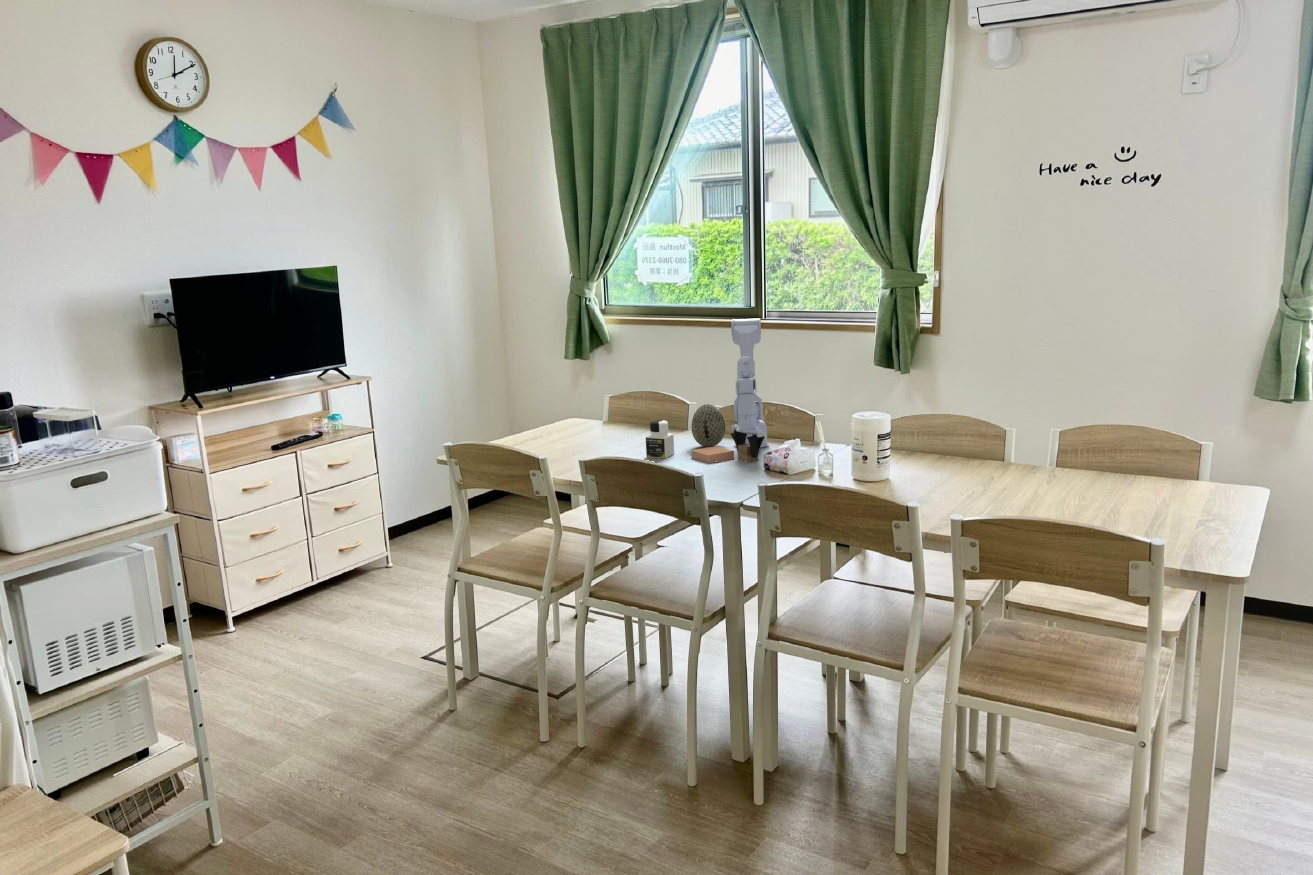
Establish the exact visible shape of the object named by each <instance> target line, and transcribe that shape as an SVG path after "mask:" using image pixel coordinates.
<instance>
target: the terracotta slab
mask: <svg viewBox="0 0 1313 875" xmlns="http://www.w3.org/2000/svg"><path fill="white" fill-rule="evenodd" d="M691 458H692V459H694V460H698V461H700V460H701V462H704V461H705V462H704V463H707V464H712V463H716V462H715V461H718V462H722V461H721V460H723V461H726V460H727V459H728V460H732V458H733V459H735V450H733V449H729V448H726V447H721V446H718V445H716V446H713V447H703V448H698V449H692V450H691Z"/></svg>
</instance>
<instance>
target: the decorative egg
mask: <svg viewBox="0 0 1313 875" xmlns="http://www.w3.org/2000/svg"><path fill="white" fill-rule="evenodd" d="M690 426H691V434H692V438H694V441H695V442H696V443H697V444H698V445H700V446H701V447H703V448H708V447H714V446H718V445H719V444H720V443H721V442H722V441H723V439H724V436H725V434H726V422H725V419H724V416H723V414H722V412H721V411H720V409H719V408H717V407H716V406H714V405H712V404H710V403H708V404H703V405H701V406H700V407H698V408H697V409H696V411H694V414H693V416H692V420H691V425H690Z"/></svg>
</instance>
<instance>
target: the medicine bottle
mask: <svg viewBox="0 0 1313 875" xmlns="http://www.w3.org/2000/svg"><path fill="white" fill-rule="evenodd" d="M649 430H650V431H649V432H650V434H648V435H647V436H645V452H646V453H645V454H646V458H651V459H652V458H653V459H664V460H665V459H668V458H669V457H671V456H673V455H675V442H674V441H675V439H674V433H669V423H668V421H667V420H664V419H657V420H656V419H655V420H652V421H651V422H649Z"/></svg>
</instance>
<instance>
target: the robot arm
mask: <svg viewBox="0 0 1313 875" xmlns="http://www.w3.org/2000/svg"><path fill="white" fill-rule="evenodd" d="M761 321H762V320H761V319H760V318H759V317H758V318H745V319H744V318H740V319H735V318H732V320H731V321H730V322H731V323H730V324H731V325H730V326H731V327H730V328H731V329H730V330H731V338H732V341H733V344H736V345H738V347H739V349H740V350H739V352H740V358H739V359H738V360H737V362H736V363H737V364H736V365H737V366H736V367H737V368H736V370H737V371H736V379H735V393H736V394H735V395H736V397H735V398H734V401H733V403H734V404H733V418H734V421H735V422H737V424H731V431H732V432H731V433H730V436H731V438H732V440H733V441H734V444H733V447H735V448H736V452H738V445H741V444H746V443H749V444H750V449H751V456H752V458H756V457H758V458H759V454H760V450H761V448H764V447H765V446H766V447H769V446H770V445H769V444H768V427H767V424H766V422H765V421H764V420H763V419H764V411H763V410H764V406H763V398H762V397H761V396H760V395H759V394H757V391H758V390H757V388H758V387H757V379H756V378H757V377H756V362H755V360H754V350H755V349H754V348H755V346H756V345H757V344H759V343H760V342H761V338H762V337H761V335H762V328H761V327H762V326H761V324H762V323H761ZM766 447H765V448H766Z"/></svg>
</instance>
